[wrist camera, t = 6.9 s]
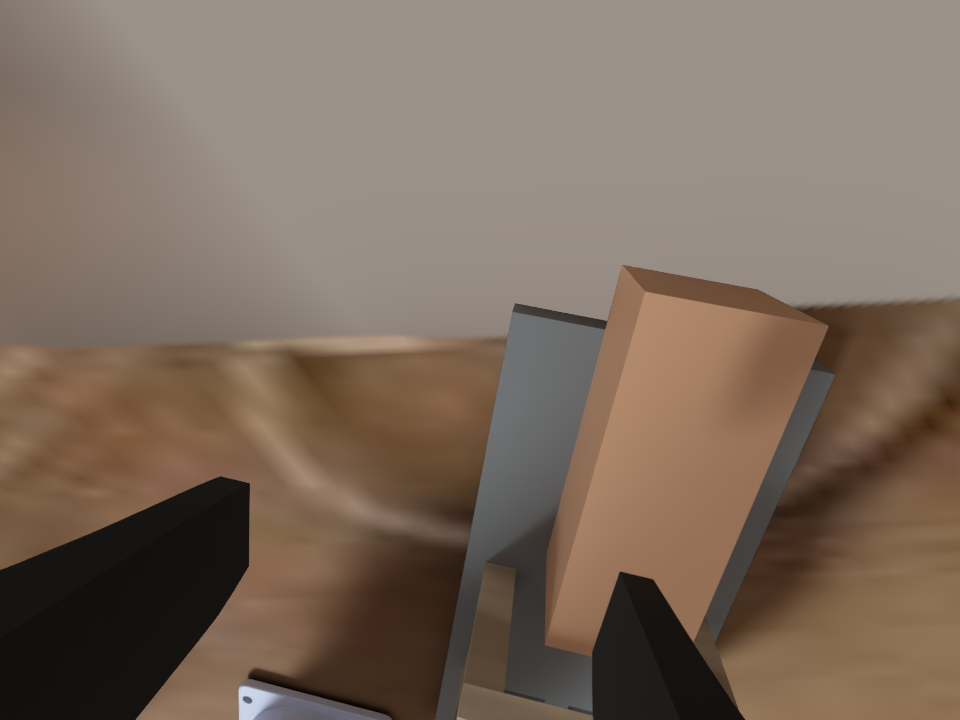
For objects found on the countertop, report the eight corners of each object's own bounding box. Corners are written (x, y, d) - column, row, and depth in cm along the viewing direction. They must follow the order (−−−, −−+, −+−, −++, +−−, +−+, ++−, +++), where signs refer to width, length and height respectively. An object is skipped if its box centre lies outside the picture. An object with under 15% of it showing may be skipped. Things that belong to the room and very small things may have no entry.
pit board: (640, 768, 23) (644, 798, 22) (436, 715, 24) (430, 741, 23) (816, 361, 16) (835, 374, 15) (515, 303, 17) (512, 311, 16)
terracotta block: (652, 577, 18) (677, 677, 15) (546, 553, 19) (544, 645, 15) (758, 289, 14) (829, 326, 11) (621, 265, 15) (644, 291, 11)
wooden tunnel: (658, 719, 21) (697, 918, 15) (463, 670, 21) (430, 843, 16) (704, 613, 19) (769, 798, 13) (485, 561, 19) (457, 717, 14)
